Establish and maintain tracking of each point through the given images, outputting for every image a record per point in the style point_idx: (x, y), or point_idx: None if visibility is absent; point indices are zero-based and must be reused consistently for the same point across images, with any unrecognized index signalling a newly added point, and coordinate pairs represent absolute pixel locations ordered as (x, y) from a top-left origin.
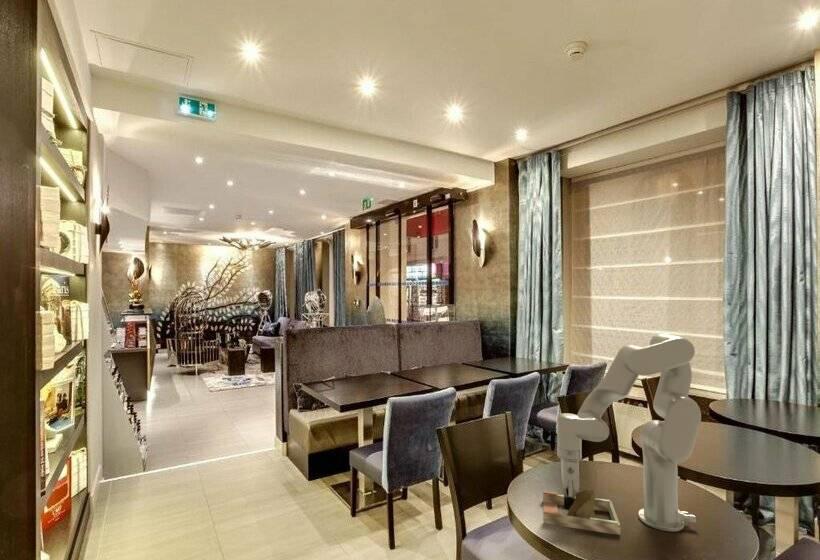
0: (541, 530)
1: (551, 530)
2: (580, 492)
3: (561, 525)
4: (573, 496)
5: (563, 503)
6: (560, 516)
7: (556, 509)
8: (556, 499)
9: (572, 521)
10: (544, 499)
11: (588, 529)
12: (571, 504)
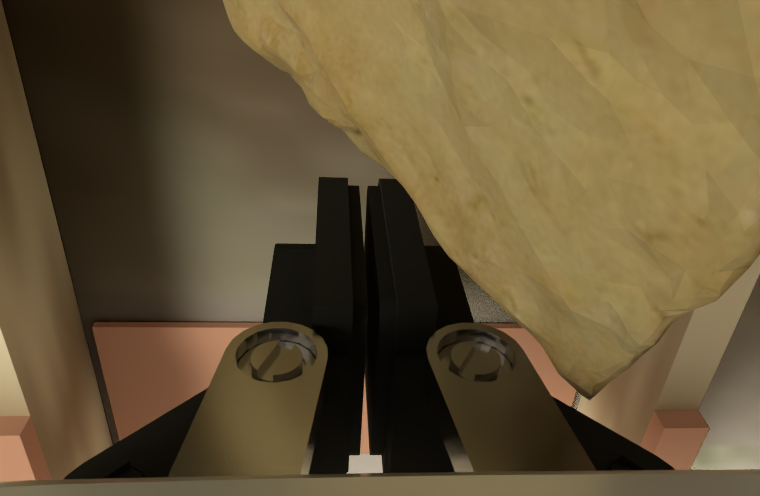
0: (729, 460)
1: (734, 391)
2: (650, 347)
3: None
4: (544, 399)
5: (51, 263)
6: (701, 396)
7: None
8: (55, 375)
9: None
10: None
11: None
12: (458, 294)
